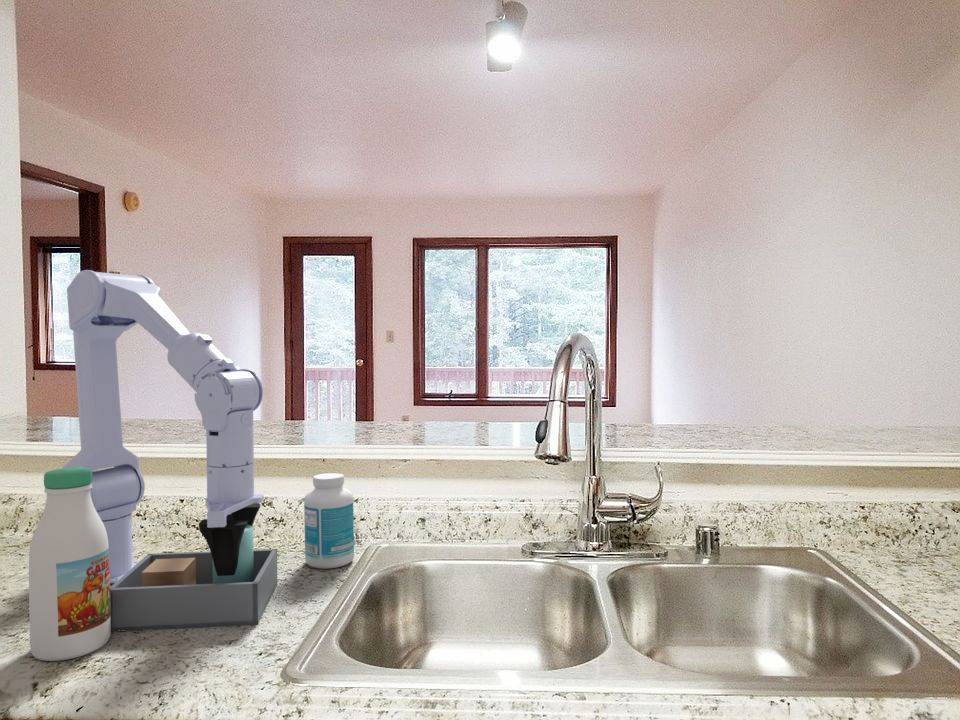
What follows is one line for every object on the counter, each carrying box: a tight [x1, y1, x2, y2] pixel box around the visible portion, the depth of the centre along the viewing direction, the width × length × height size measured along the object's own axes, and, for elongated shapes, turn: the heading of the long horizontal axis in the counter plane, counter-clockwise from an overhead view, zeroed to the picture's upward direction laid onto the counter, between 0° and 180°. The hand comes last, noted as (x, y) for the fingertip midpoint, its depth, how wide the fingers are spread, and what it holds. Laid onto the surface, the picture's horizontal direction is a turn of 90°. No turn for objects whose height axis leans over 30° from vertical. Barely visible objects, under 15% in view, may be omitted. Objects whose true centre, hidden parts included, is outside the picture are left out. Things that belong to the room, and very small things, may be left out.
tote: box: [110, 548, 278, 632], centre depth 85 cm, size 17×13×5 cm
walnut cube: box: [142, 558, 196, 587], centre depth 85 cm, size 5×5×5 cm
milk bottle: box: [28, 467, 112, 662], centre depth 74 cm, size 8×8×20 cm
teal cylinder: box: [212, 525, 254, 584], centre depth 86 cm, size 5×5×7 cm
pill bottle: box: [303, 472, 355, 570], centre depth 102 cm, size 8×7×14 cm
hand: (231, 567), depth 86 cm, fingers closed on teal cylinder, 5 cm apart
